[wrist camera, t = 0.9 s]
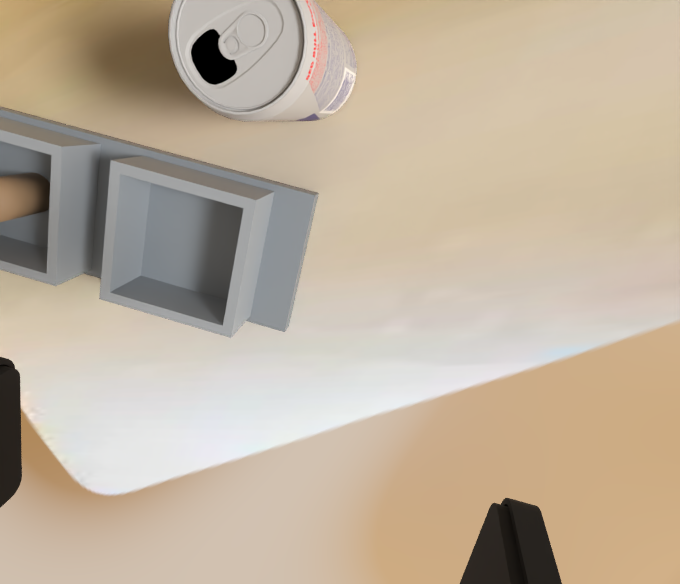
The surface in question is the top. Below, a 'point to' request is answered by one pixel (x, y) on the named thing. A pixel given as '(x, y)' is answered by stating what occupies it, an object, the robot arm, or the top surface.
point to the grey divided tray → (150, 226)
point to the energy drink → (262, 58)
